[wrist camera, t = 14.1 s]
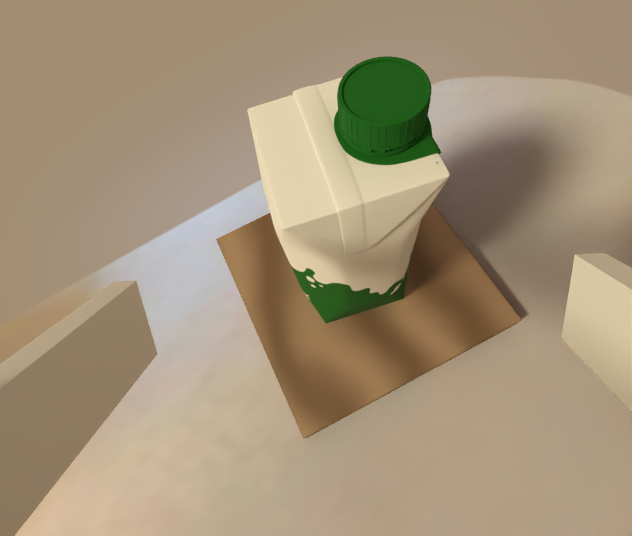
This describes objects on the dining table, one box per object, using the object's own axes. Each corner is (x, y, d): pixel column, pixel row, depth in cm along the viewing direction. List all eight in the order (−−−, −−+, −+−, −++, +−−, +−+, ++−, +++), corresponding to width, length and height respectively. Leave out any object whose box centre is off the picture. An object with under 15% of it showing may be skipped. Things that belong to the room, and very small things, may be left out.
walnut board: (392, 161, 41) (393, 152, 39) (514, 324, 33) (521, 320, 31) (221, 245, 39) (216, 239, 38) (306, 438, 31) (303, 438, 30)
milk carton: (417, 305, 33) (483, 149, 15) (317, 337, 33) (256, 221, 15) (382, 221, 36) (399, 10, 18) (291, 250, 36) (216, 68, 18)
